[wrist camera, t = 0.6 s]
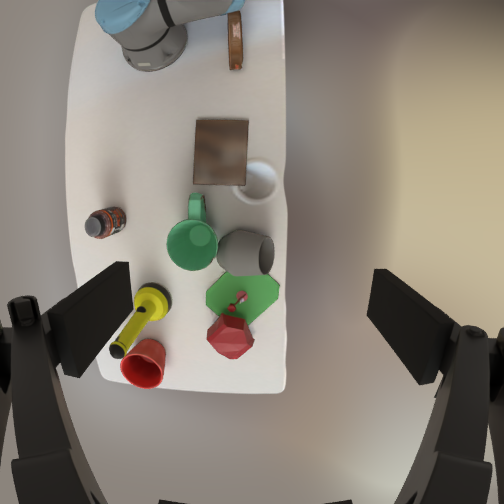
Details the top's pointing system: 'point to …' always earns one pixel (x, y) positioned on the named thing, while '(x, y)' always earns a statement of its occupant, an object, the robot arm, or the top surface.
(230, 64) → the tin
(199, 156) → the placemat
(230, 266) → the cup
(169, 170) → the top surface
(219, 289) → the red green faceted piece
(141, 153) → the top surface
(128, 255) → the top surface
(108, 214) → the supplement bottle
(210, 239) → the mug
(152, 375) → the flower pot
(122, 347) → the flashlight
